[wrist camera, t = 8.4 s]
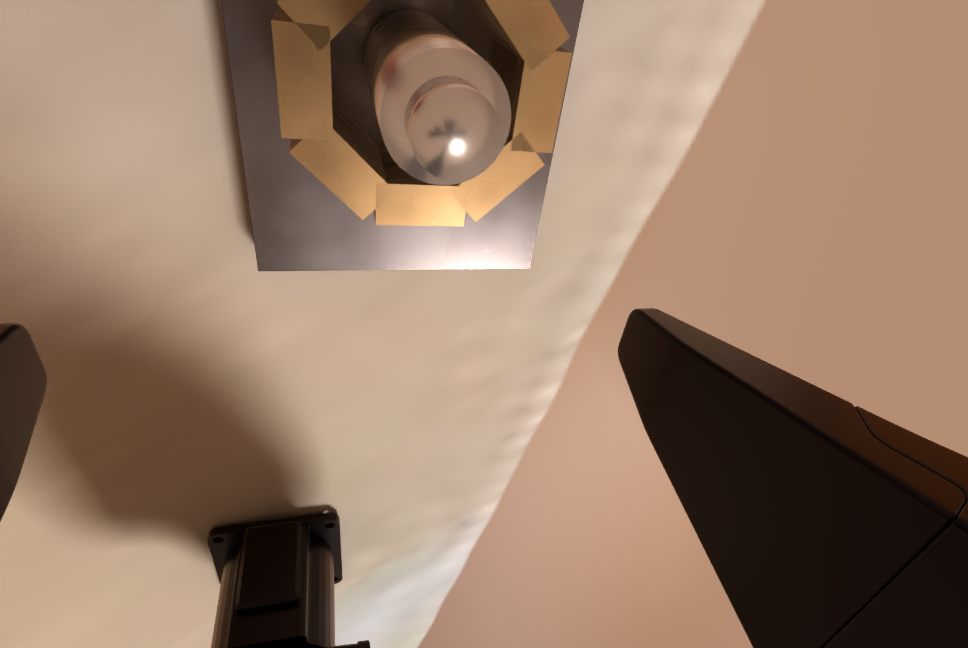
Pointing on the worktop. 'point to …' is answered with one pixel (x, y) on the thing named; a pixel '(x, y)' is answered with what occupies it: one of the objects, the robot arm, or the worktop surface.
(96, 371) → the worktop surface
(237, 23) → the shaft stand
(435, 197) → the ring
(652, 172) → the worktop surface
